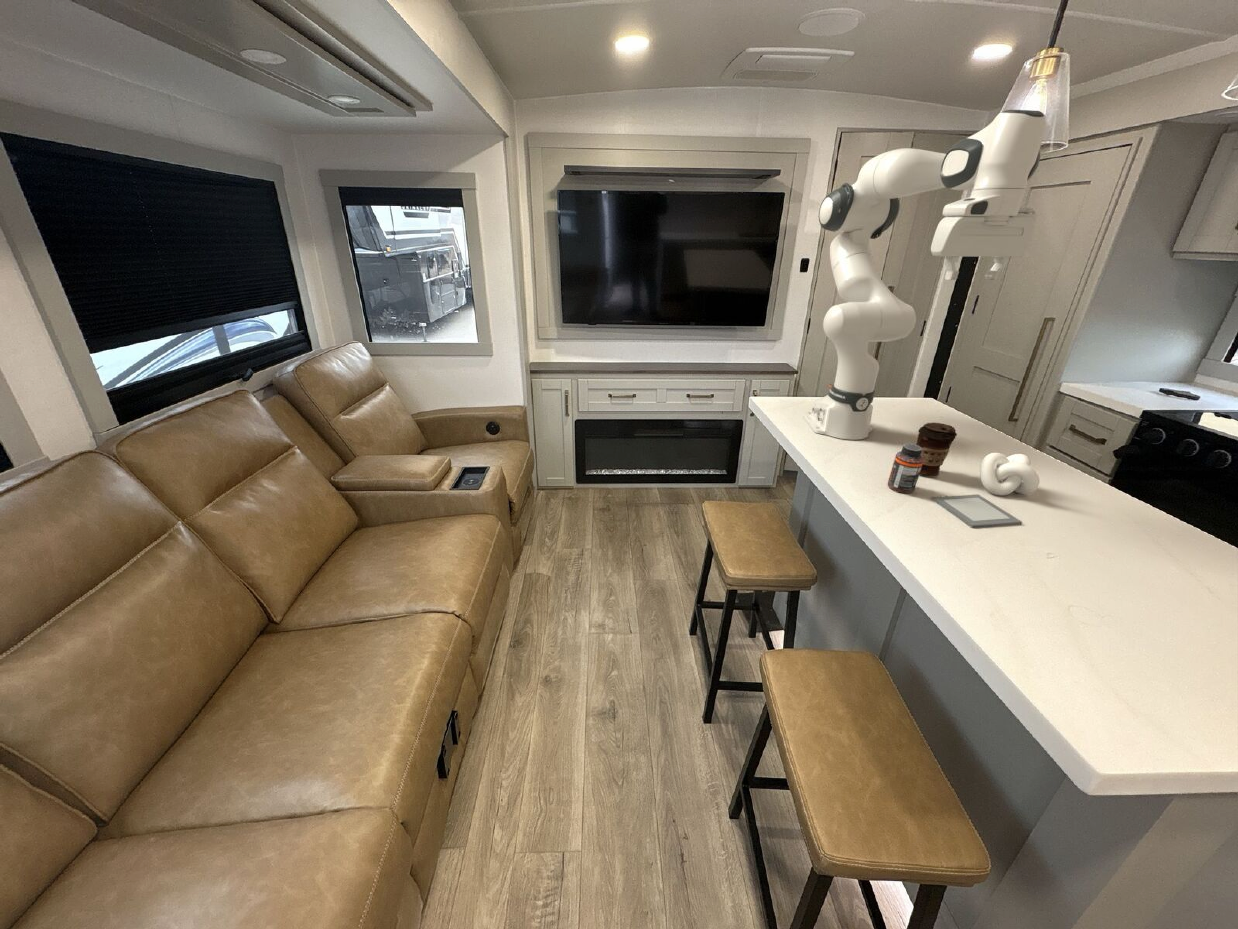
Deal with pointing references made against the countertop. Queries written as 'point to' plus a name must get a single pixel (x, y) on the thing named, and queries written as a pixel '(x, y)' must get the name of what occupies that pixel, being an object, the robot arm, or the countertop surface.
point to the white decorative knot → (1008, 474)
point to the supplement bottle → (906, 469)
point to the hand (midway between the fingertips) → (970, 279)
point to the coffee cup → (934, 446)
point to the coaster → (976, 511)
